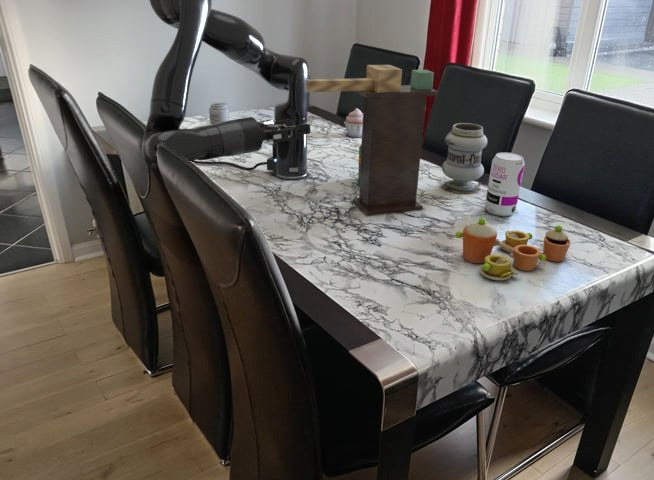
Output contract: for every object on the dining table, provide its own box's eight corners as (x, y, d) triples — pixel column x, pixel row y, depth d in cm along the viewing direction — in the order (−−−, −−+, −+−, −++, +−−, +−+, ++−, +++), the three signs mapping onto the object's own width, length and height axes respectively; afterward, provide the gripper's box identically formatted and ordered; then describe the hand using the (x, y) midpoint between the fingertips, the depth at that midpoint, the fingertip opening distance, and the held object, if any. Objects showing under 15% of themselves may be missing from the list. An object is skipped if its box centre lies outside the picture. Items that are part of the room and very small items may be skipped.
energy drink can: (234, 152, 188) (231, 105, 181) (216, 154, 185) (212, 106, 178) (227, 147, 192) (223, 101, 185) (209, 149, 189) (205, 102, 182)
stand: (361, 216, 146) (367, 94, 132) (347, 202, 154) (351, 85, 140) (427, 208, 153) (440, 92, 139) (410, 195, 161) (420, 84, 147)
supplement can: (516, 208, 157) (527, 154, 150) (513, 219, 150) (523, 162, 143) (487, 203, 159) (495, 150, 152) (482, 213, 152) (491, 158, 145)
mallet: (311, 94, 128) (311, 70, 126) (302, 88, 134) (302, 65, 131) (400, 91, 136) (402, 69, 134) (388, 86, 142) (389, 64, 139)
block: (417, 90, 139) (419, 72, 137) (410, 86, 143) (411, 69, 141) (432, 89, 141) (434, 72, 139) (424, 86, 144) (426, 69, 142)
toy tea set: (492, 287, 117) (500, 244, 112) (444, 256, 128) (450, 216, 124) (578, 262, 130) (589, 222, 125) (528, 236, 141) (536, 198, 136)
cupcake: (353, 130, 220) (354, 104, 215) (373, 135, 216) (374, 108, 211) (338, 135, 214) (338, 107, 209) (358, 140, 209) (359, 112, 204)
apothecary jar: (431, 186, 169) (438, 124, 160) (455, 178, 177) (463, 118, 168) (465, 198, 162) (474, 134, 153) (488, 188, 170) (498, 127, 161)
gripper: (247, 124, 120) (314, 112, 128) (220, 116, 131) (284, 106, 139) (252, 159, 123) (317, 146, 131) (226, 149, 134) (287, 137, 142)
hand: (300, 125), depth 135 cm, fingers open, 8 cm apart
